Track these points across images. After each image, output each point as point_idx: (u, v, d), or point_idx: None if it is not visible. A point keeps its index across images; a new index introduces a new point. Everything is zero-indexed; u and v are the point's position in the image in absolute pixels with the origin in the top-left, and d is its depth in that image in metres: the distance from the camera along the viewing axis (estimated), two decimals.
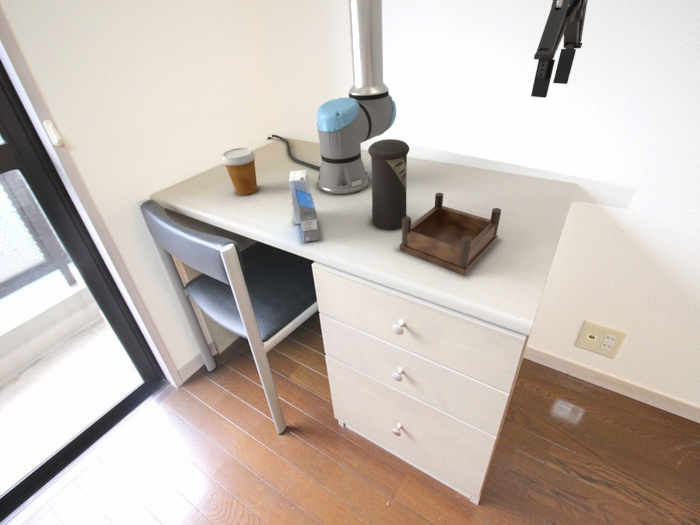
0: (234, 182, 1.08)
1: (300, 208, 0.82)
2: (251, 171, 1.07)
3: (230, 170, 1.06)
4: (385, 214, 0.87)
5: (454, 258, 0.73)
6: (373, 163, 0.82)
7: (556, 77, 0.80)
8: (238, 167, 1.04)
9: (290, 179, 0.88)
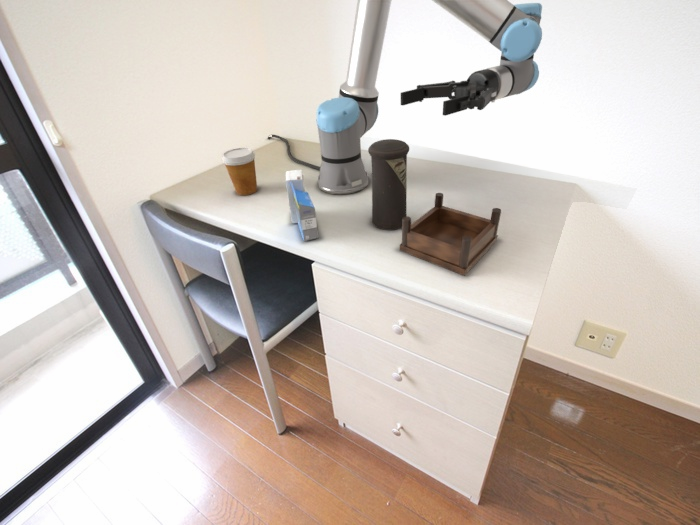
0: (234, 182, 1.08)
1: (300, 206, 0.82)
2: (251, 171, 1.07)
3: (230, 170, 1.06)
4: (385, 214, 0.87)
5: (454, 258, 0.73)
6: (373, 163, 0.82)
7: (406, 94, 0.85)
8: (238, 167, 1.04)
9: (287, 179, 0.88)
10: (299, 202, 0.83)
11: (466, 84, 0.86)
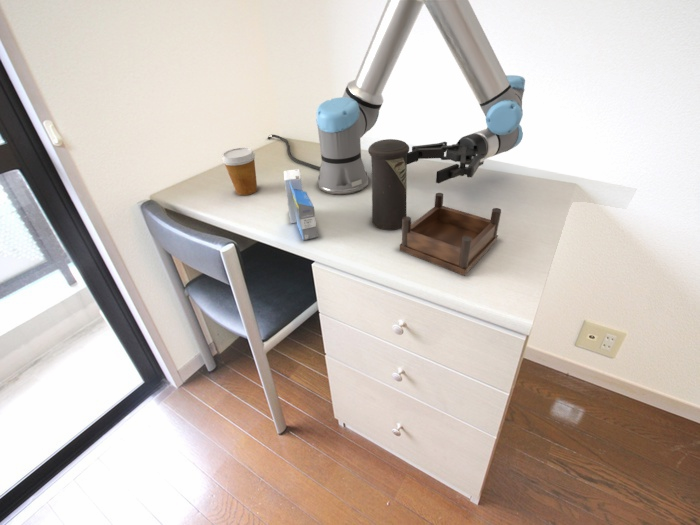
0: (234, 182, 1.08)
1: (299, 206, 0.82)
2: (251, 171, 1.07)
3: (230, 170, 1.06)
4: (385, 214, 0.87)
5: (454, 258, 0.73)
6: (373, 163, 0.82)
7: None
8: (238, 167, 1.04)
9: (285, 178, 0.88)
10: (298, 201, 0.83)
11: (457, 148, 0.95)
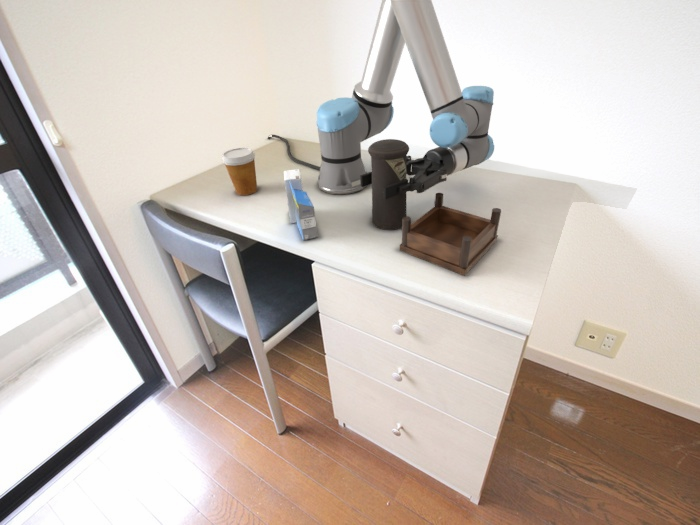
0: (234, 182, 1.08)
1: (299, 206, 0.82)
2: (251, 171, 1.07)
3: (230, 170, 1.06)
4: (385, 214, 0.87)
5: (454, 258, 0.73)
6: (373, 163, 0.82)
7: (366, 176, 0.86)
8: (238, 167, 1.04)
9: (285, 178, 0.88)
10: (298, 201, 0.83)
11: (422, 162, 0.90)
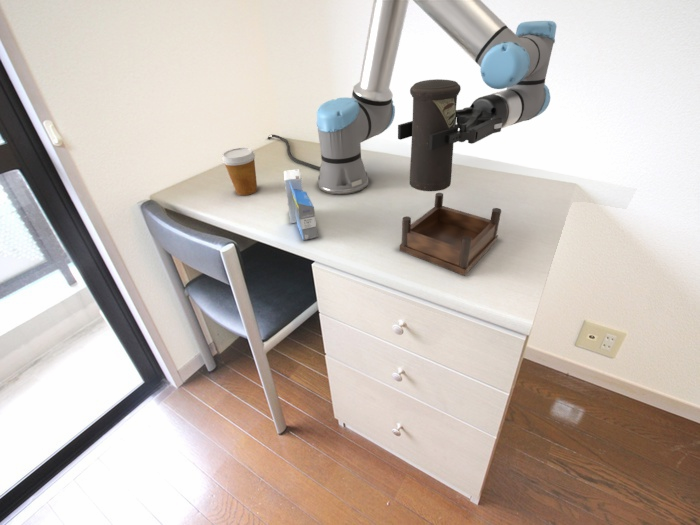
0: (234, 182, 1.08)
1: (299, 206, 0.82)
2: (251, 171, 1.07)
3: (230, 170, 1.06)
4: (427, 172, 0.73)
5: (454, 258, 0.73)
6: (416, 107, 0.67)
7: (405, 126, 0.72)
8: (238, 167, 1.04)
9: (285, 178, 0.88)
10: (298, 201, 0.83)
11: (470, 111, 0.76)
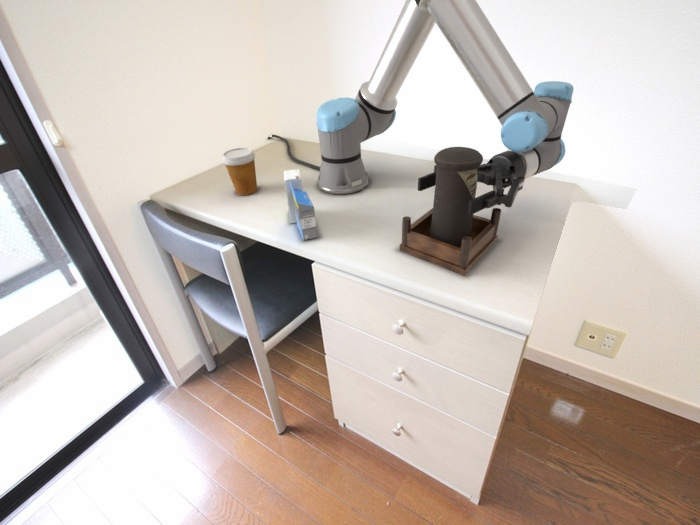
0: (234, 182, 1.08)
1: (299, 206, 0.82)
2: (251, 171, 1.07)
3: (230, 170, 1.06)
4: (449, 232, 0.76)
5: (454, 258, 0.73)
6: (440, 174, 0.71)
7: (424, 179, 0.77)
8: (238, 167, 1.04)
9: (285, 178, 0.88)
10: (298, 201, 0.83)
11: (489, 168, 0.79)
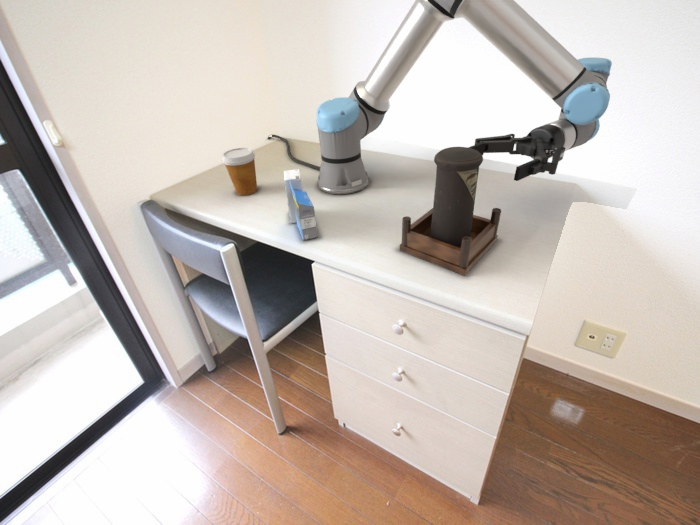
0: (234, 182, 1.08)
1: (299, 206, 0.82)
2: (251, 171, 1.07)
3: (230, 170, 1.06)
4: (449, 232, 0.76)
5: (454, 258, 0.73)
6: (440, 174, 0.71)
7: None
8: (238, 167, 1.04)
9: (285, 178, 0.88)
10: (298, 201, 0.83)
11: (529, 140, 0.83)
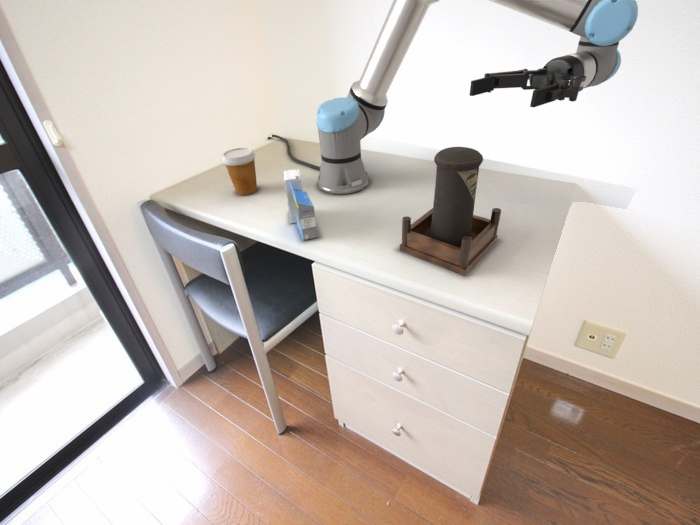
0: (234, 182, 1.08)
1: (299, 206, 0.82)
2: (251, 171, 1.07)
3: (230, 170, 1.06)
4: (449, 232, 0.76)
5: (454, 258, 0.73)
6: (440, 174, 0.71)
7: (477, 82, 0.73)
8: (238, 167, 1.04)
9: (285, 178, 0.88)
10: (298, 201, 0.83)
11: (545, 72, 0.75)
